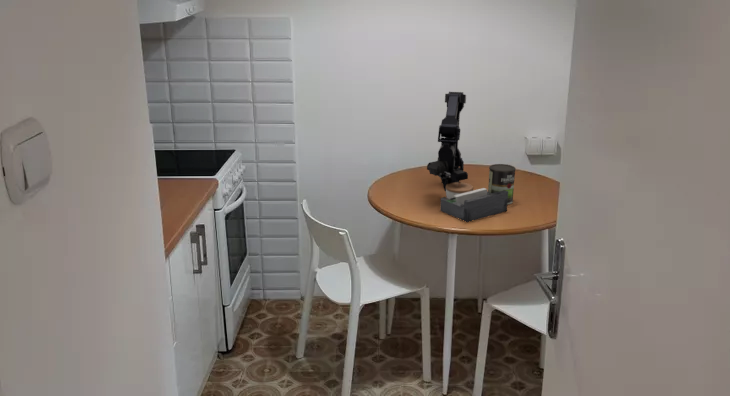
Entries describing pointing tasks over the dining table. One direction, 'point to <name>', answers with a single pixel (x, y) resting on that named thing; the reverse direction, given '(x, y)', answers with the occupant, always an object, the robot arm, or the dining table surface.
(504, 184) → the coffee can
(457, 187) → the lidded jar
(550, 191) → the dining table surface
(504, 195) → the box
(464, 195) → the grey flat bar
